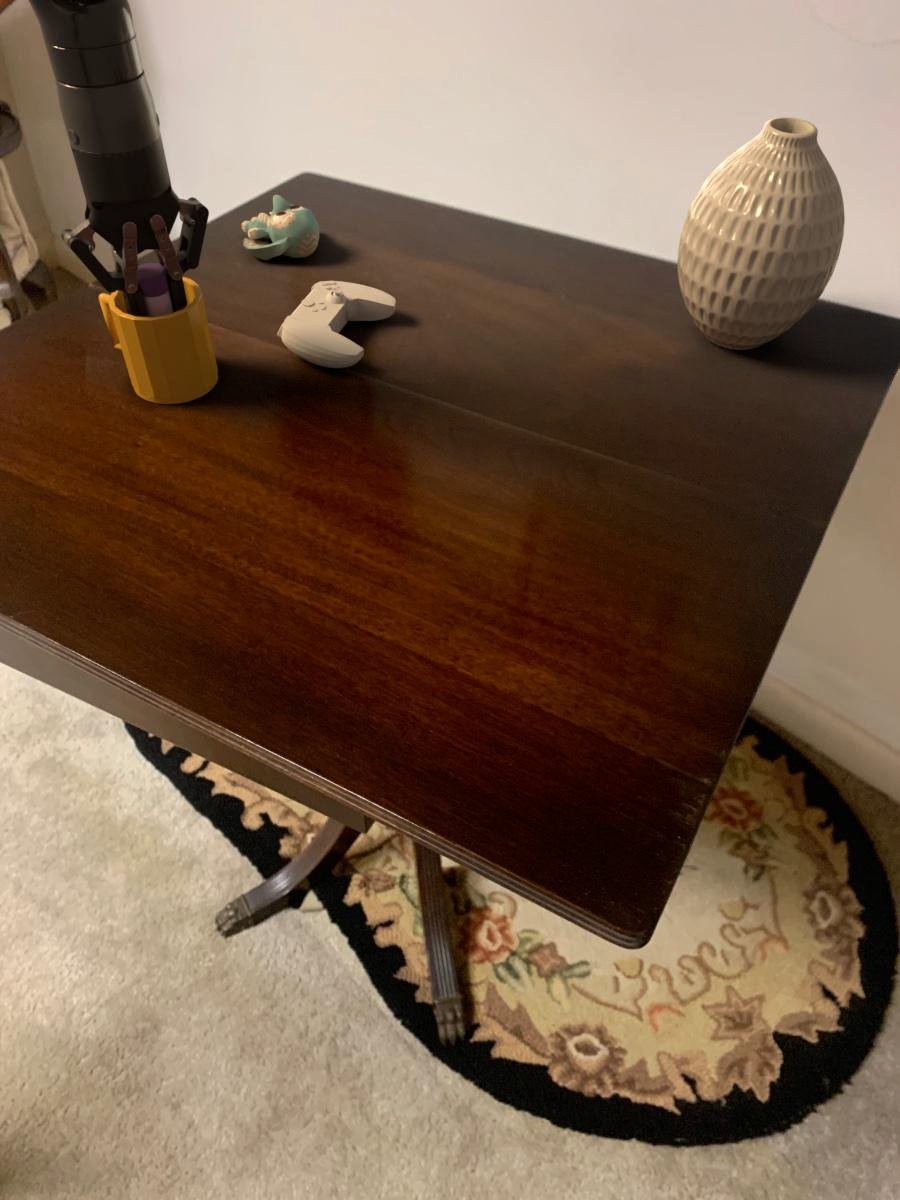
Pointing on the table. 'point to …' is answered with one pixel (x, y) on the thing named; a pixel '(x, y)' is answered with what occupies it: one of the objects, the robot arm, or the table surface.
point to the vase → (761, 237)
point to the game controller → (333, 322)
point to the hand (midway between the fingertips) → (159, 316)
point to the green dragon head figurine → (282, 231)
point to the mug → (165, 348)
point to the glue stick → (154, 289)
